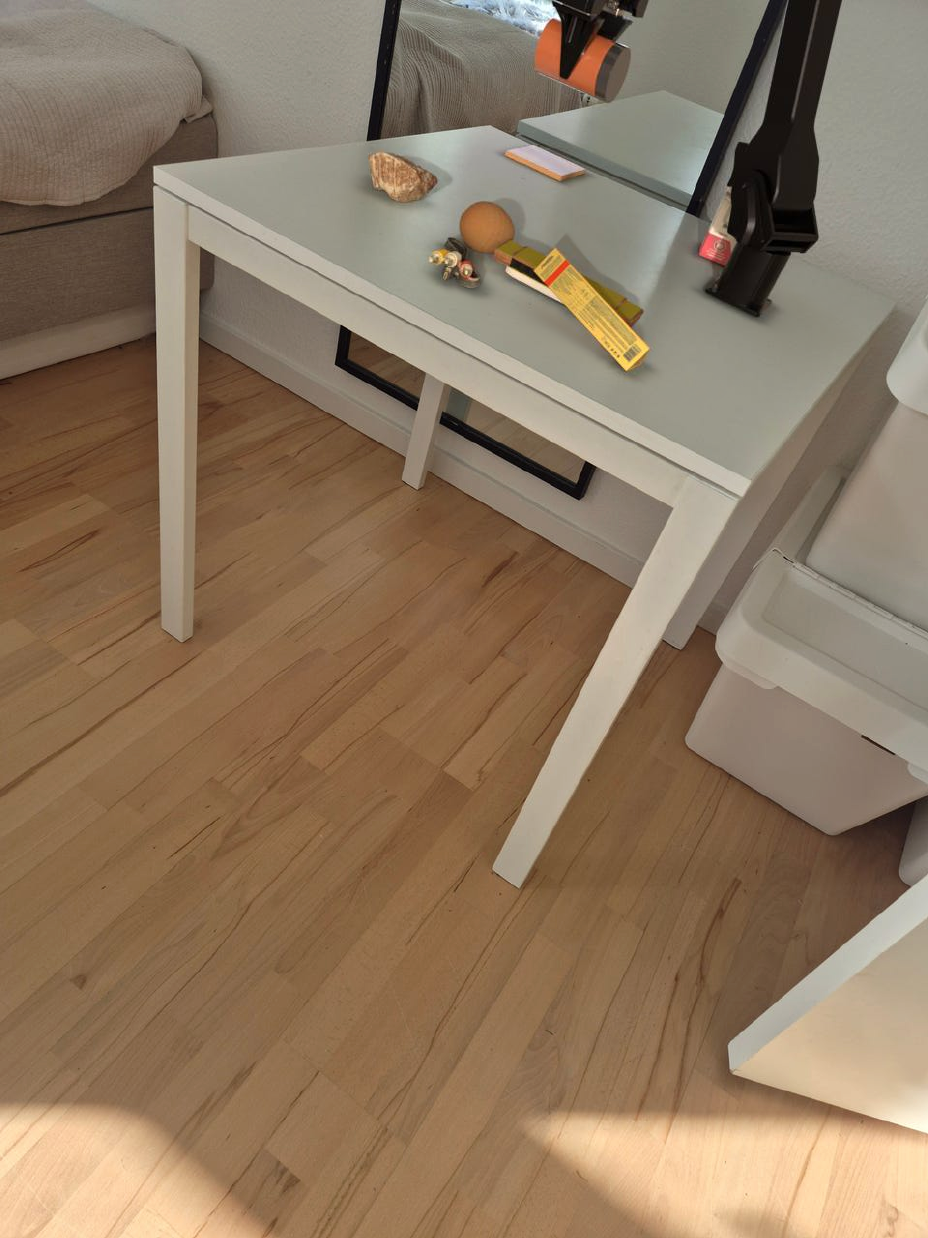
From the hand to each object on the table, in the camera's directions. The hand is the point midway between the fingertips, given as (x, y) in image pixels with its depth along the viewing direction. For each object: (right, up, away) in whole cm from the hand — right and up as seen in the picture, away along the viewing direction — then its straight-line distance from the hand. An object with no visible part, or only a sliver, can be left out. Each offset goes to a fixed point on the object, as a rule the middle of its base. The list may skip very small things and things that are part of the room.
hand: (573, 77), depth 102 cm
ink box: (+19, -24, -1) cm, 31 cm away
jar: (0, -1, +1) cm, 1 cm away
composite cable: (-14, -35, -27) cm, 47 cm away
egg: (-14, -30, -25) cm, 41 cm away
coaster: (-3, -6, +8) cm, 11 cm away
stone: (-21, -25, -18) cm, 37 cm away
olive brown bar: (-4, -36, -27) cm, 45 cm away
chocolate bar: (-3, -41, -33) cm, 52 cm away
